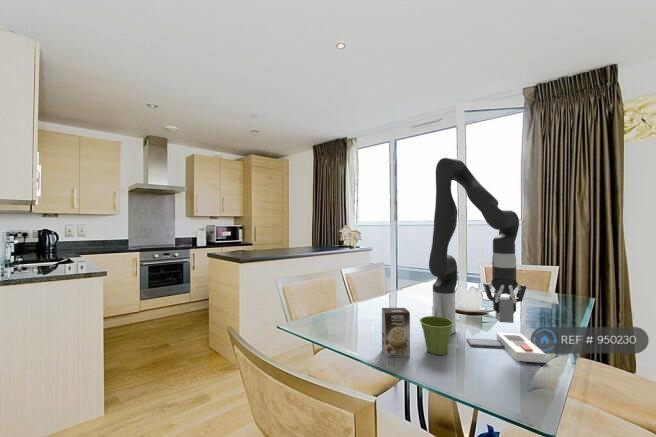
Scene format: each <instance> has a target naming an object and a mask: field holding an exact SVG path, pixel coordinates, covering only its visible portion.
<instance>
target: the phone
mask: <svg viewBox="0 0 656 437" xmlns="http://www.w3.org/2000/svg"><path fill="white" fill-rule="evenodd" d="M466 342H467V343H468V345H469V347H471V348H472V347H474V348H488V349H489V348H490V349H505V346H504V345H503V344H502V343H501V342H500V341H499V340H497V339H487V338H486V339H485V338H468V337H467V338H466Z"/></svg>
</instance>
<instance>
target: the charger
mask: <svg viewBox="0 0 656 437" xmlns="http://www.w3.org/2000/svg"><path fill="white" fill-rule="evenodd" d="M498 303H499V313H497V312H495V319H496V320H498V322H499V323H506V324H507V323H510V324H514V322H515V321H514V318H515V316H514V314H515V312H514V300H512V299H511V298H510V297H509V296H501V297H500V298H499V301H498Z"/></svg>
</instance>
